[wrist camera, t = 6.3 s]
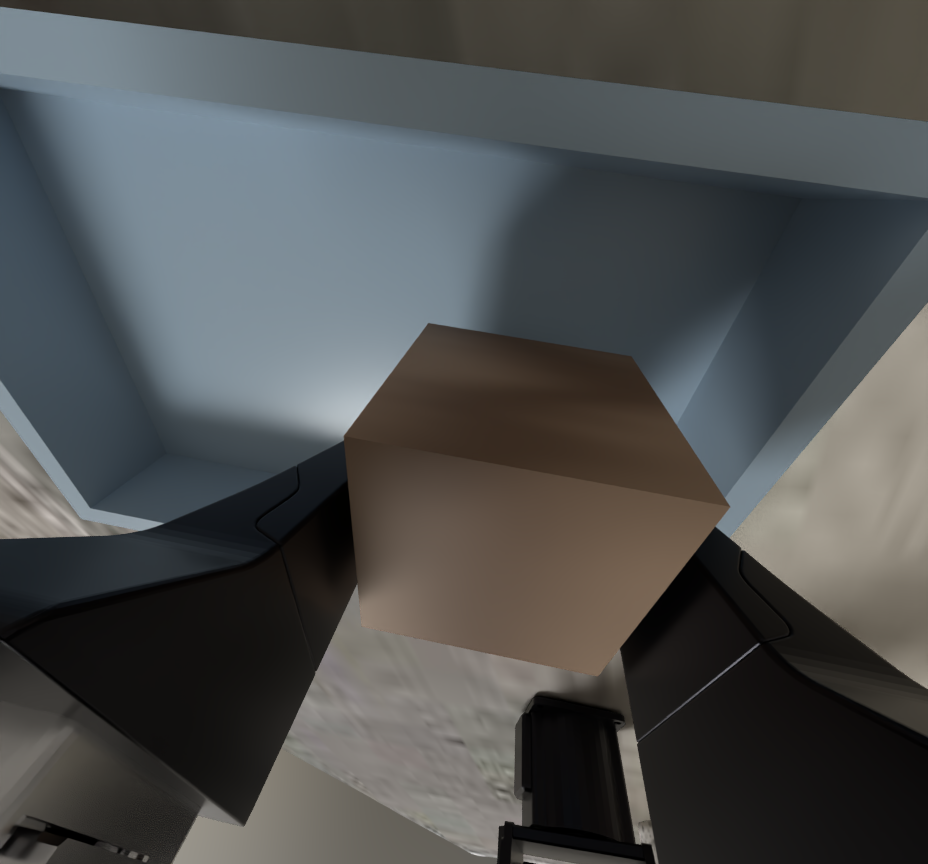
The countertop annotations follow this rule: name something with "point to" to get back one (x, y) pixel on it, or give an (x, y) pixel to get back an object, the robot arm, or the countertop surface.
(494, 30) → the countertop surface
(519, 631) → the walnut block
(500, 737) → the countertop surface
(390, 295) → the tote
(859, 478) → the countertop surface
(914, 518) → the countertop surface
